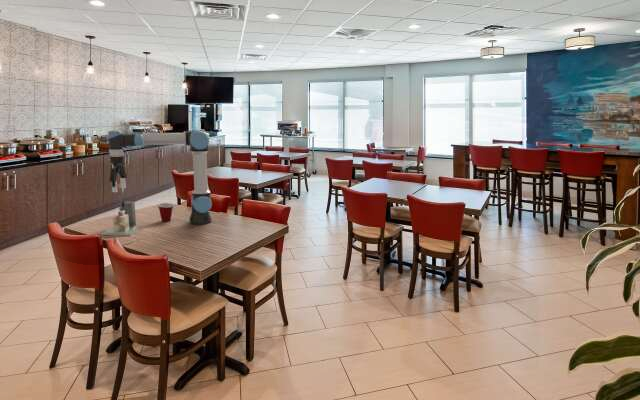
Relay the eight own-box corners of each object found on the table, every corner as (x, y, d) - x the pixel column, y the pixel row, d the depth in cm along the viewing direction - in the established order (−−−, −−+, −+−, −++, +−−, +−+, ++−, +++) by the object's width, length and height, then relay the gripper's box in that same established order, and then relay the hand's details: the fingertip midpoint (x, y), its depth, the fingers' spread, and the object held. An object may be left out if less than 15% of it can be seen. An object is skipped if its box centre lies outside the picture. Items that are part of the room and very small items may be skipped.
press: (144, 224, 278) (142, 201, 275) (130, 235, 252) (128, 210, 249) (119, 224, 276) (118, 201, 273) (103, 235, 250) (101, 210, 247)
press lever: (127, 209, 274) (125, 182, 271) (124, 211, 270) (122, 183, 267) (120, 209, 274) (119, 182, 270) (118, 211, 270) (116, 183, 266)
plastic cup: (169, 223, 283) (168, 206, 281) (155, 222, 285) (154, 205, 283) (177, 219, 293) (176, 203, 291) (164, 218, 296) (163, 202, 293)
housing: (129, 228, 262) (128, 210, 260) (125, 230, 256) (124, 213, 253) (117, 227, 262) (116, 210, 260) (113, 230, 255) (112, 213, 253)
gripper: (118, 154, 262) (120, 186, 266) (101, 158, 237) (104, 193, 241) (130, 154, 262) (132, 186, 266) (114, 158, 238) (117, 193, 242)
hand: (119, 190), depth 254 cm, fingers open, 13 cm apart
